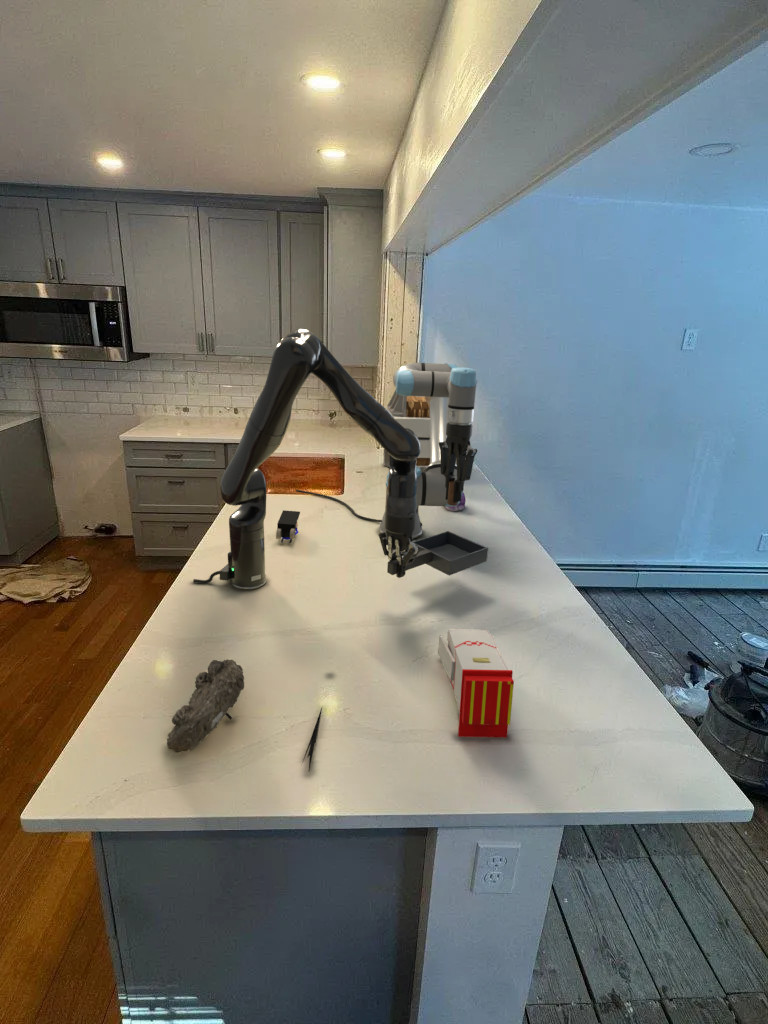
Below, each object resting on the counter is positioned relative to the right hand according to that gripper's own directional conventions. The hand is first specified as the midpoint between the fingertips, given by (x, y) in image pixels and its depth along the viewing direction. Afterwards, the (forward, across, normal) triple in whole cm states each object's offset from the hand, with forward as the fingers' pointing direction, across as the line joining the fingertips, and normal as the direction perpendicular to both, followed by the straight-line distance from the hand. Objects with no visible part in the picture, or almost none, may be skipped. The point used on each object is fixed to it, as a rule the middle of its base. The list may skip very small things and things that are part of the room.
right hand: (453, 500), depth 172 cm
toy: (+22, +47, -43) cm, 67 cm away
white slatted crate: (+19, -80, +65) cm, 104 cm away
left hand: (+11, +13, -34) cm, 38 cm away
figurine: (+20, -35, +41) cm, 58 cm away
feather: (+22, +35, -73) cm, 83 cm away
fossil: (+22, +22, -88) cm, 94 cm away
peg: (+1, 0, 0) cm, 1 cm away
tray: (+11, +13, -22) cm, 28 cm away
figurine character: (+21, -46, -30) cm, 58 cm away
